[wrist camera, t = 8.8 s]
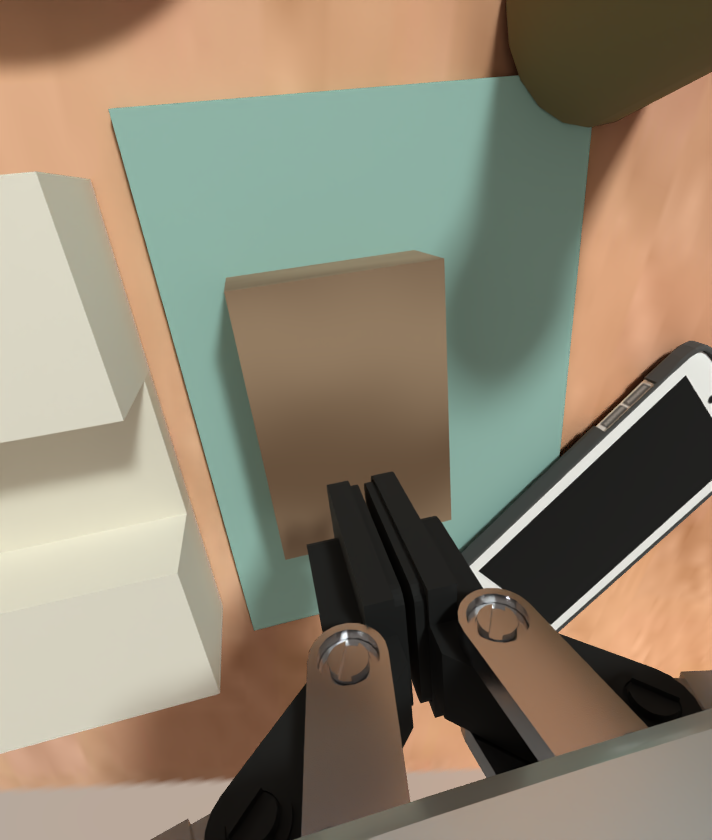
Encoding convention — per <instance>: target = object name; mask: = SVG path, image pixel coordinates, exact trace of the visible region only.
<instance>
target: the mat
mask: <svg viewBox="0 0 712 840" xmlns="http://www.w3.org/2000/svg"><path fill="white" fill-rule="evenodd" d="M109 113H110V116H111V120H112V124H113V127H114V131H115V134H116V138H117V142H118V145H119V149H120V152H121V156H122V159H123V163H124V167H125V170H126V174H127V177H128V181H129V184H130V188H131V192H132V195H133V199H134V202H135V206H136V210H137V213H138V217H139V220H140V224H141V227H142V231H143V235H144V238H145V242H146V245H147V249H148V252H149V256H150V260H151V263H152V267H153V270H154V274H155V278H156V281H157V285H158V288H159V292H160V295H161V299H162V303H163V306H164V310H165V313H166V317H167V320H168V324H169V328H170V331H171V335H172V338H173V342H174V346H175V349H176V353H177V356H178V360H179V363H180V367H181V371H182V374H183V378H184V381H185V385H186V389H187V392H188V396H189V399H190V403H191V406H192V410H193V414H194V417H195V421H196V424H197V428H198V431H199V435H200V439H201V442H202V446H203V449H204V453H205V457H206V460H207V464H208V467H209V471H210V474H211V478H212V482H213V485H214V489H215V492H216V496H217V499H218V503H219V507H220V510H221V514H222V517H223V521H224V525H225V528H226V532H227V535H228V539H229V542H230V546H231V550H232V553H233V557H234V560H235V564H236V567H237V571H238V575H239V578H240V582H241V585H242V589H243V593H244V596H245V600H246V603H247V607H248V610H249V614H250V618H251V621H252V625H253V628H254V631H255V630H259V629H263V628H266V627H270V626H274V625H278V624H282V623H286V622H290V621H294V620H298V619H302V618H306V617H309V616H313V615H317V614H319V610H318V604H317V599H316V594H315V588H314V583H313V577H312V572H311V567H310V561H309V556H308V555H304V556H300V557H296V558H291V559H287V560H285V556H284V552H283V548H282V543H281V539H280V535H279V530H278V526H277V521H276V517H275V513H274V508H273V504H272V500H271V495H270V491H269V486H268V482H267V478H266V473H265V469H264V465H263V460H262V456H261V452H260V447H259V443H258V438H257V434H256V430H255V425H254V421H253V417H252V412H251V408H250V403H249V399H248V395H247V390H246V386H245V382H244V377H243V373H242V368H241V364H240V360H239V355H238V351H237V347H236V342H235V338H234V333H233V329H232V325H231V320H230V316H229V312H228V307H227V303H226V299H225V294H224V288H225V280H226V278H227V277H234V276H241V275H248V274H254V273H261V272H268V271H275V270H281V269H288V268H295V267H302V266H309V265H315V264H322V263H329V262H336V261H343V260H349V259H356V258H363V257H370V256H376V255H383V254H390V253H397V252H404V251H410V250H416V251H420V252H423V253H427V254H430V255H434V256H438V257H441V258H444V265H445V302H446V338H447V375H448V412H449V448H450V485H451V520H449V521H445V522H442V524H443V525H444V527H445V529H446V530H447V532H448V533H449V535H450V536H451V538H452V540H453V541H454V543H455V544H456V546H457V548H458V549H459V551H460V552H461V553H462V552H463V551H464V550H465V549H466V548H467V547H468V546H469V545H470V544H471V543H472V542H473V541H474V540H475V539H476V538H477V537H478V536H479V535H480V534H481V533H482V532H483V531H484V530H485V529H486V528H487V527H488V526H490V525H491V524H492V523H493V522H494V521H495V520H496V519H497V518H498V517H499V516H500V515H501V514H502V513H503V512H504V511H505V510H506V509H507V508H508V507H509V506H510V505H511V504H512V503H513V502H515V501H516V500H517V499H518V498H519V497H520V496H521V495H522V494H523V493H524V492H525V491H526V490H527V489H528V488H529V487H530V486H531V485H532V484H533V483H534V482H535V481H536V480H537V479H538V478H539V477H541V476H542V475H543V474H544V473H545V472H546V471H547V470H548V469H549V468H550V467H551V466H552V465H553V464H554V463H555V462H556V461H557V460H558V459H559V457H560V446H561V436H562V426H563V416H564V405H565V395H566V385H567V375H568V365H569V354H570V344H571V334H572V324H573V314H574V303H575V293H576V283H577V273H578V263H579V252H580V242H581V232H582V222H583V212H584V201H585V191H586V181H587V171H588V161H589V150H590V140H591V130H592V127H589V128H588V127H583V126H578V125H572V124H567V123H562V122H561V121H559V120H558V119H557V118H555V117H554V116H552V115H551V114H549V113H548V112H546V111H545V110H543V109H542V108H540V107H539V106H538V104H537V103H536V101H535V100H534V99H533V97H532V96H531V94H530V93H529V91H528V90H527V89H526V87H525V86H524V84H523V83H522V82H521V80H520V77H519V75H517V76H505V77H493V78H480V79H468V80H456V81H444V82H431V83H419V84H407V85H395V86H382V87H370V88H358V89H346V90H333V91H321V92H309V93H297V94H285V95H272V96H260V97H248V98H236V99H223V100H211V101H199V102H187V103H174V104H162V105H150V106H138V107H125V108H113V109H109Z"/></svg>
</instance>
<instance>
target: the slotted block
mask: <svg viewBox="0 0 712 840" xmlns="http://www.w3.org/2000/svg"><path fill="white" fill-rule="evenodd" d="M222 617H223V605H222V602H221V598H220V595H219V592H218V589H217V585H216V582H215V579H214V576H213V573H212V569H211V566H210V563H209V560H208V556H207V553H206V550H205V547H204V544H203V540H202V537H201V534H200V531H199V527H198V524H197V521H196V518H195V515H194V511H193V508H192V505H191V502H190V498H189V495H188V492H187V489H186V485H185V482H184V479H183V476H182V473H181V469H180V466H179V463H178V460H177V456H176V453H175V450H174V447H173V444H172V440H171V437H170V434H169V431H168V427H167V424H166V421H165V418H164V415H163V411H162V408H161V405H160V402H159V398H158V395H157V392H156V389H155V386H154V382H153V379H152V376H151V373H150V369H149V366H148V363H147V360H146V357H145V353H144V350H143V347H142V344H141V340H140V337H139V334H138V331H137V328H136V324H135V321H134V318H133V315H132V311H131V308H130V305H129V302H128V299H127V295H126V292H125V289H124V286H123V282H122V279H121V276H120V273H119V270H118V266H117V263H116V260H115V257H114V253H113V250H112V247H111V244H110V241H109V237H108V234H107V231H106V228H105V224H104V221H103V218H102V215H101V212H100V208H99V205H98V202H97V199H96V195H95V192H94V189H93V186H92V183H91V179H86V178H79V177H71V176H64V175H57V174H50V173H42V172H26V173H16V174H6V175H0V754H1V753H5V752H8V751H12V750H16V749H19V748H23V747H27V746H30V745H34V744H38V743H41V742H45V741H49V740H52V739H56V738H59V737H63V736H67V735H70V734H74V733H78V732H81V731H85V730H89V729H92V728H96V727H100V726H103V725H107V724H111V723H114V722H118V721H122V720H125V719H129V718H133V717H136V716H140V715H144V714H147V713H151V712H155V711H158V710H162V709H166V708H169V707H173V706H177V705H180V704H184V703H187V702H191V701H195V700H198V699H202V698H206V697H209V696H213V695H217V694H220V678H221V648H222Z"/></svg>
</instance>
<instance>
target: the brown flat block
mask: <svg viewBox="0 0 712 840" xmlns="http://www.w3.org/2000/svg"><path fill="white" fill-rule="evenodd" d="M224 294H225V299H226V303H227V307H228V312H229V316H230V320H231V325H232V329H233V333H234V338H235V342H236V347H237V351H238V355H239V360H240V364H241V368H242V373H243V377H244V382H245V386H246V390H247V395H248V399H249V403H250V408H251V412H252V417H253V421H254V425H255V430H256V434H257V438H258V443H259V447H260V452H261V456H262V460H263V465H264V469H265V473H266V478H267V482H268V486H269V491H270V495H271V500H272V504H273V508H274V513H275V517H276V521H277V526H278V530H279V535H280V539H281V543H282V548H283V552H284V556H285V560H287V559H291V558H296V557H300V556H304V555H308V550H307V544H311V543H316V542H320V541H325V540H329V539H334V532H333V526H332V519H331V513H330V507H329V500H328V494H327V485H328V484H333V483H338V482H343V481H349V483H350V486H353V485H358V486H359V488H360V490H361V493H362V495H363V498H364V500H365V492H364V483H367V482H371V476H372V475H377V474H382V473H386V472H391V471H393V472H394V473H395V475H396V477H397V479H398V480H399V482H400V484H401V486H402V487H403V489H404V491H405V493H406V494H407V496H408V498H409V500H410V501H411V503H412V505H413V507H414V508H415V510H416V512H417V514H418V516H419V517H420V519H423V518H427V517H432V516H437V517H438V518H439V519H440V521H441V522H445V521H449V520H451V485H450V448H449V412H448V375H447V338H446V302H445V265H444V258H441V257H438V256H434V255H430V254H427V253H423V252H420V251H416V250H410V251H404V252H397V253H390V254H383V255H376V256H370V257H363V258H356V259H349V260H343V261H336V262H329V263H322V264H315V265H309V266H302V267H295V268H288V269H281V270H275V271H268V272H261V273H254V274H248V275H241V276H234V277H227V278H226V280H225V288H224ZM365 503H366V500H365Z"/></svg>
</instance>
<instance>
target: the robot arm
mask: <svg viewBox="0 0 712 840" xmlns="http://www.w3.org/2000/svg"><path fill="white" fill-rule="evenodd" d="M364 492H365V500H366V503H365V500H364V498H363V495H362V493H361V490H360V488H359V486H358V485H353V486H350V483H349V481H343V482H338V483H333V484H328V485H327V494H328V500H329V507H330V513H331V519H332V526H333V532H334V539H329V540H325V541H320V542H316V543H311V544H307V550H308V556H309V561H310V567H311V572H312V577H313V583H314V588H315V594H316V599H317V604H318V610H319V615H320V621H321V626H322V631H323V633H322V634H321V635H320V636H319V637H318V638H317V639H316V640H315V642H314V643H313V645H312V647H311V649H310V651H309V656H308V660H307V683H306V684H305V686H304V687H303V688H302V690H301V691H300V692H299V693H298V695H297V696H296V697H295V699H294V700H293V701H292V703H291V704H290V705H289V707H288V708H287V709H286V711H285V712H284V713H283V715H282V716H281V717H280V719H279V720H278V721H277V723H276V724H275V725H274V726H273V728H272V729H271V730H270V732H269V733H268V734H267V736H266V737H265V738H264V740H263V741H262V742H261V744H260V745H259V746H258V748H257V749H256V750H255V752H254V753H253V754H252V756H251V757H250V758H249V760H248V761H247V762H246V763H245V765H244V766H243V767H242V769H241V770H240V771H239V773H238V774H237V775H236V777H235V778H234V779H233V781H232V782H231V783H230V785H229V786H228V787H227V789H226V790H225V791H224V793H223V794H222V795H221V796H220V798H219V800H218V802H217V803H216V805H215V807H214V808H213V810H212V812H211V814H209V815H207V816H205V817H204V818H202V819H200V820H198V821H197V822H195V823H193V824H190V822H189V820H188V819H187V820H185V821H183V822H181V823H180V824H178V825H176V826H174V827H172V828H171V829H169V830H167V831H165V832H164V833H162V834H160V835H158V836H157V837H155V838H153V839H151V840H712V670H710V671H687V672H681V673H680V677H679V678H673V677H671V676H670V675H668V674H665V673H663V672H661V671H659V670H657V669H655V668H652V667H649V666H647V665H644V664H641V663H638V662H636V661H633V660H630V659H627V658H625V657H622V656H619V655H616V654H614V653H611V652H608V651H605V650H603V649H600V648H597V647H594V646H592V645H589V644H586V643H583V642H581V641H578V640H575V639H572V638H570V637H567V636H564V635H561V634H559V633H558V632H557V631H556V630H555V629H554V628H553V627H552V626H551V625H550V624H549V623H548V622H547V621H546V620H545V619H544V618H543V617H542V616H541V615H540V614H539V613H538V612H537V611H536V609H535V608H534V607H533V606H532V605H531V604H530V603H529V602H527V601H526V600H525V599H524V598H522V597H521V596H520V595H517V594H515V593H513V592H511V591H508V590H504V589H500V588H484V589H483V587H482V586H481V584H480V582H479V581H478V579H477V578H476V576H475V574H474V573H473V571H472V570H471V568H470V567H469V565H468V563H467V562H466V560H465V559H464V557H463V555H462V554H461V552H460V551H459V549H458V548H457V546H456V544H455V543H454V541H453V540H452V538H451V536H450V535H449V533H448V532H447V530H446V529H445V527H444V525H443V524H442V522H441V521H440V519H439V518H438V517H437V516H432V517H427V518H423V519H420V517H419V516H418V514H417V512H416V510H415V508H414V507H413V505H412V503H411V501H410V500H409V498H408V496H407V494H406V493H405V491H404V489H403V487H402V486H401V484H400V482H399V480H398V479H397V477H396V475H395V473H394V472H393V471H391V472H386V473H382V474H377V475H372V476H371V482H367V483H364ZM411 679H412V681H411ZM412 682H413V685H414V688H415V691H416V693H417V696H418V699H419V701H420V703H423V702H427V701H429V703H430V706H431V708H432V711H433V714H434V716H435V718H436V717H439V716H443V715H444V718H445V719H447V720H449V721H451V722H453V723H455V724H457V725H459V726H460V727H461V732H462V734H463V737H464V739H465V742H466V743H467V745H468V747H469V749H470V750H471V752H472V754H473V755H474V757H475V759H476V761H477V762H478V764H479V766H480V767H481V769H482V771H483V773H484V774H485V776H486V778H485V779H483V780H479V781H476V782H473V783H470V784H466V785H464V786H460V787H457V788H454V789H451V790H447V791H444V792H441V793H438V794H435V795H432V796H428V797H425V798H422V799H419V800H416V801H413V802H410V797H409V790H408V783H407V776H406V769H405V762H404V755H403V747H404V745H405V743H406V741H407V739H408V737H409V735H410V733H411V731H412V729H413V718H412V706H413V693H412Z"/></svg>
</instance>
